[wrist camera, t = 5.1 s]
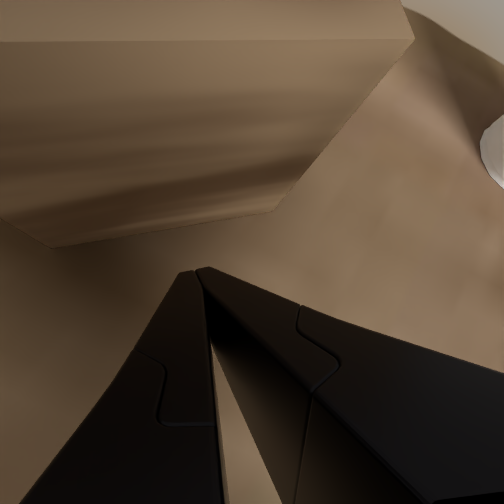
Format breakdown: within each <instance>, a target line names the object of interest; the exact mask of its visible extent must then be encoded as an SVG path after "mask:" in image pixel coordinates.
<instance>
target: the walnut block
mask: <svg viewBox="0 0 504 504" xmlns="http://www.w3.org/2000/svg"><path fill="white" fill-rule="evenodd" d="M414 40H415V37H414V34H413V32H412V29H411V27H410V24H409V22H408V19H407V17H406V14H405V11H404V9H403V6H402V4H401V1H400V0H0V218H1V219H2V220H4V221H6V222H7V223H9V224H11V225H12V226H14V227H16V228H17V229H19V230H21V231H22V232H24V233H26V234H27V235H29V236H31V237H32V238H34V239H36V240H37V241H39V242H41V243H42V244H44V245H46V246H48V247H49V248H51V249H52V248H58V247H64V246H70V245H76V244H82V243H88V242H94V241H100V240H106V239H112V238H118V237H124V236H130V235H136V234H142V233H148V232H154V231H159V230H165V229H171V228H177V227H183V226H189V225H195V224H201V223H207V222H213V221H219V220H225V219H231V218H237V217H243V216H249V215H255V214H261V213H267V212H272V211H273V210H274V209H275V208H276V206H277V205H278V204H279V203H280V202H281V200H282V199H283V198H284V197H285V196H286V194H287V193H288V192H289V191H290V190H291V188H292V187H293V186H294V185H295V184H296V182H297V181H298V180H299V179H300V177H301V176H302V175H303V174H304V173H305V171H306V170H307V169H308V168H309V167H310V165H311V164H312V163H313V162H314V161H315V159H316V158H317V157H318V156H319V155H320V153H321V152H322V151H323V150H324V149H325V147H326V146H327V145H328V144H329V142H330V141H331V140H332V139H333V138H334V136H335V135H336V134H337V133H338V132H339V130H340V129H341V128H342V127H343V126H344V124H345V123H346V122H347V121H348V120H349V118H350V117H351V116H352V115H353V114H354V112H355V111H356V110H357V109H358V107H359V106H360V105H361V104H362V103H363V101H364V100H365V99H366V98H367V97H368V95H369V94H370V93H371V92H372V91H373V89H374V88H375V87H376V86H377V85H378V83H379V82H380V81H381V80H382V78H383V77H384V76H385V75H386V74H387V72H388V71H389V70H390V69H391V68H392V66H393V65H394V64H395V63H396V62H397V60H398V59H399V58H400V57H401V56H402V54H403V53H404V52H405V51H406V50H407V48H408V47H409V46H410V45H411V43H412V42H413V41H414Z"/></svg>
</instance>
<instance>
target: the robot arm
mask: <svg viewBox="0 0 504 504" xmlns="http://www.w3.org/2000/svg"><path fill="white" fill-rule="evenodd" d="M210 341H211V342H210ZM211 344H212V347H213V349H214V352H215V354H216V356H217V359H218V361H219V363H220V365H221V367H222V370H223V372H224V374H225V376H226V379H227V381H228V383H229V385H230V388H231V390H232V392H233V394H234V397H235V399H236V401H237V403H238V405H239V408H240V410H241V412H242V414H243V417H244V419H245V421H246V423H247V426H248V428H249V430H250V432H251V435H252V437H253V439H254V441H255V443H256V446H257V448H258V450H259V452H260V455H261V457H262V459H263V461H264V464H265V466H266V468H267V470H268V473H269V475H270V477H271V479H272V481H273V484H274V486H275V488H276V490H277V493H278V495H279V497H280V499H281V502H282V504H504V373H501V372H498V371H495V370H492V369H489V368H486V367H483V366H480V365H477V364H474V363H471V362H467V361H464V360H461V359H458V358H455V357H452V356H449V355H446V354H443V353H440V352H437V351H434V350H430V349H427V348H424V347H421V346H418V345H415V344H412V343H409V342H406V341H403V340H400V339H396V338H393V337H390V336H387V335H384V334H381V333H378V332H375V331H372V330H369V329H366V328H363V327H360V326H357V325H354V324H351V323H348V322H345V321H342V320H339V319H336V318H334V317H331V316H329V315H326V314H324V313H321V312H318V311H316V310H313V309H311V308H309V307H306V306H304V305H301V306H300V304H298V303H295V302H293V301H291V300H288V299H286V298H283V297H281V296H279V295H276V294H274V293H272V292H269V291H267V290H264V289H262V288H260V287H257V286H255V285H252V284H250V283H248V282H245V281H243V280H241V279H238V278H236V277H233V276H231V275H229V274H226V273H224V272H221V271H219V270H217V269H214V268H212V267H204V268H199V269H196V270H195V271H194V270H190V271H185V272H180V273H179V274H178V275H177V277H176V278H175V280H174V282H173V283H172V285H171V287H170V288H169V290H168V292H167V293H166V295H165V297H164V299H163V300H162V302H161V304H160V305H159V307H158V309H157V310H156V312H155V314H154V315H153V317H152V319H151V320H150V322H149V324H148V325H147V327H146V329H145V330H144V332H143V334H142V335H141V337H140V339H139V340H138V342H137V344H136V345H135V347H134V349H133V350H132V351H131V352H130V354H129V356H128V357H127V359H126V361H125V362H124V364H123V366H122V367H121V369H120V370H119V372H118V373H117V375H116V376H115V378H114V379H113V381H112V382H111V384H110V385H109V387H108V388H107V389H106V391H105V392H104V394H103V395H102V396H101V398H100V399H99V400H98V402H97V403H96V404H95V406H94V407H93V408H92V410H91V411H90V412H89V414H88V415H87V416H86V418H85V419H84V420H83V422H82V423H81V424H80V425H79V427H78V428H77V429H76V431H75V432H74V433H73V434H72V436H71V437H70V438H69V440H68V441H67V442H66V444H65V445H64V446H63V447H62V449H61V450H60V451H59V453H58V454H57V455H56V456H55V458H54V459H53V460H52V462H51V463H50V464H49V466H48V467H47V468H46V469H45V471H44V472H43V473H42V475H41V476H40V477H39V478H38V480H37V481H36V482H35V484H34V485H33V486H32V488H31V489H30V490H29V491H28V493H27V494H26V495H25V497H24V498H23V499H22V500H21V502H20V503H19V504H230V503H229V494H228V486H227V477H226V469H225V460H224V452H223V443H222V435H221V426H220V417H219V409H218V400H217V392H216V383H215V375H214V366H213V358H212V349H211Z"/></svg>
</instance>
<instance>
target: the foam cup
mask: <svg viewBox="0 0 504 504" xmlns="http://www.w3.org/2000/svg"><path fill="white" fill-rule="evenodd" d="M480 150H481V159H482V161H483V163H484V165H485V167H486V169H487V171H488V173H489V175H490V176H491V177H492V178H493V179H494V180H495V181H496V182H497V183H498V184H499V185H500V186H501V187H502V188H503V189H504V114H503V115H502V116H501V117H500V118H499V119H497V120H496V121H495V122H494V123H492V124H491V126H490V127H489V128H487V129H486V130H484V133H483V135H482V138H481V141H480Z"/></svg>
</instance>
